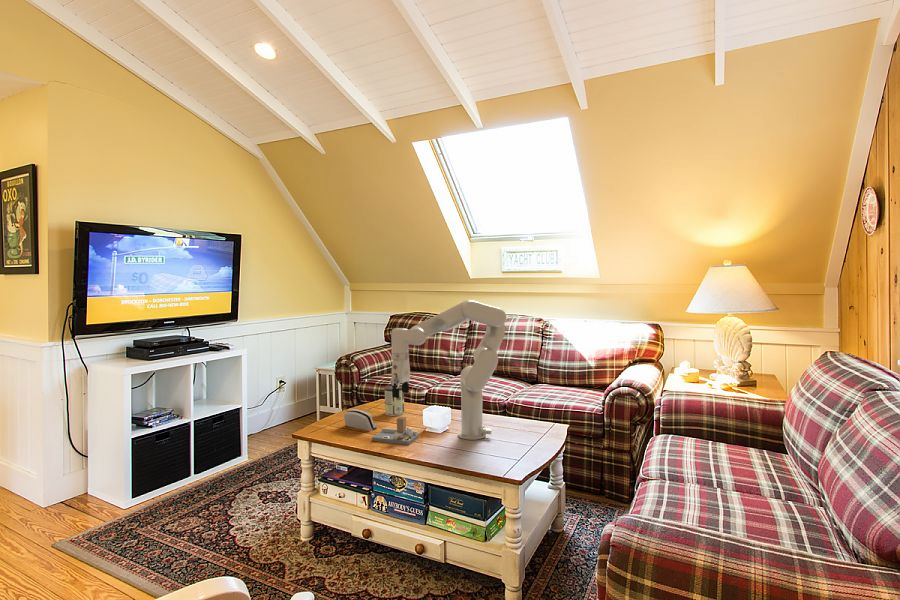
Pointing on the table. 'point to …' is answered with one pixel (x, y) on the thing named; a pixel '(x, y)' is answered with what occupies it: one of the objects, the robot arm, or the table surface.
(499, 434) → the table surface
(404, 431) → the trammel slider
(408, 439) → the gauge board
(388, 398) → the coffee can
